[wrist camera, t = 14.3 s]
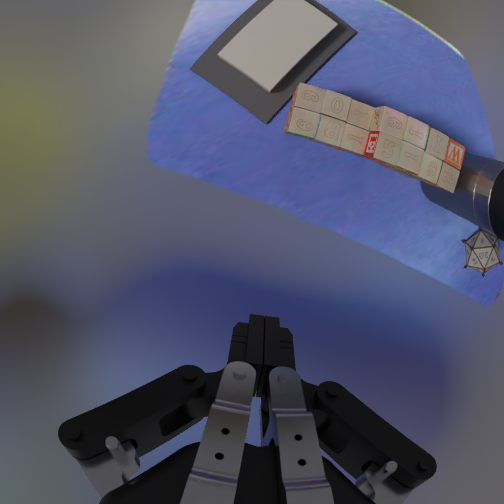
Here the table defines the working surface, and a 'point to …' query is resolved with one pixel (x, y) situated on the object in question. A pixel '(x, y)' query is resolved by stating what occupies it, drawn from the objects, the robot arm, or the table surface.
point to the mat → (246, 88)
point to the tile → (277, 41)
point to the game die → (482, 252)
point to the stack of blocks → (375, 135)
